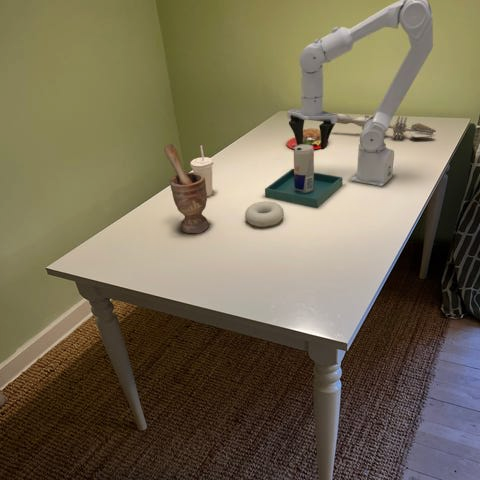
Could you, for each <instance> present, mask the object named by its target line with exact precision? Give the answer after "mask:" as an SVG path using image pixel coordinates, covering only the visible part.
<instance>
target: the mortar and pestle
mask: <svg viewBox="0 0 480 480" xmlns="http://www.w3.org/2000/svg"><path fill="white" fill-rule="evenodd" d="M163 150H164V154H165V156H166V157H167V160H168V161H169V163H170V164H171V167H172V168H173V169H174V172H175V173H176V175H174V176H173V177H171V178H170V180H169V186H170V191H171V193H172V198H173V202H174V204H175V206H176V209H177V211H178V212H179V213H180V214H182V216H184V218H183V219H182V220H181V222H180V230H181V231H182V232H183V233H186V234H202V233H203V232H204V231H206V230H207V229H208V228H209V227H210V222H209V220H208V218H207V217H206V216H204V215H203V212H204V210H206V207H207V202H208V196H207V192H206V184H205V177H204V175H203V174H201V173H195V172H193V171H190V172H186V171H185V169H184V167H183V164H182V161H181V159H180V156H179V153H178V150H177V148H176V147H175V145H174V144H173V143H169V144H168V145H166V146H164V148H163Z"/></svg>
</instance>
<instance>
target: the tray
mask: <svg viewBox="0 0 480 480" xmlns="http://www.w3.org/2000/svg"><path fill="white" fill-rule="evenodd" d="M343 179H344V178H343V177H342V176H339V175H338V176H337V175H331V174H326V173H320V172H315V171H314V189H313V190H312V191H311V192H309V193H305V194H302V193H297V192H296V191H295V189H294V168H291V169H290V170H289V171H287V172H286V173H284V174H283V175H282V176H280V177H279V178H277V179H276V180H274V182H272V183H271V184H270V185H268V186H267V187H265V188H264V197H265V198H270V199H273V200H278V201H283V202H288V203H292V204H297V205H302V206H305V207H306V206H307V207H311V208H315V209H318V208H319V207H320V206H321V205H322V204H323V203H325V201H327V200H328V199H329V198H331V196H332V195H334V193H336V192H337V191H338V190H340V188H341V187H342V186H343V181H344V180H343Z"/></svg>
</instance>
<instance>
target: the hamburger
mask: <svg viewBox="0 0 480 480" xmlns="http://www.w3.org/2000/svg"><path fill="white" fill-rule="evenodd" d="M328 143H329V142H328ZM328 143H327V145H328ZM303 144H310V145H312V146H313V149H314V150H318V149H321V133H320V129H319V128H312V127H311V128H306V129H303ZM286 146H287V147H288V148H290V149H292V150H294V149H295V146H297V142H296V138H295V137H293V138H290V139H288V140H287V141H286Z"/></svg>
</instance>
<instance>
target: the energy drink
mask: <svg viewBox="0 0 480 480" xmlns="http://www.w3.org/2000/svg"><path fill="white" fill-rule="evenodd" d="M293 169H294V189H295V191H296V192H297V193H302V194H305V193H309V192H311V191H312V190H313V189H314V172H315V149H313V146H312V145H310V144H300V145H297V146H295V149H293Z"/></svg>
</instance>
